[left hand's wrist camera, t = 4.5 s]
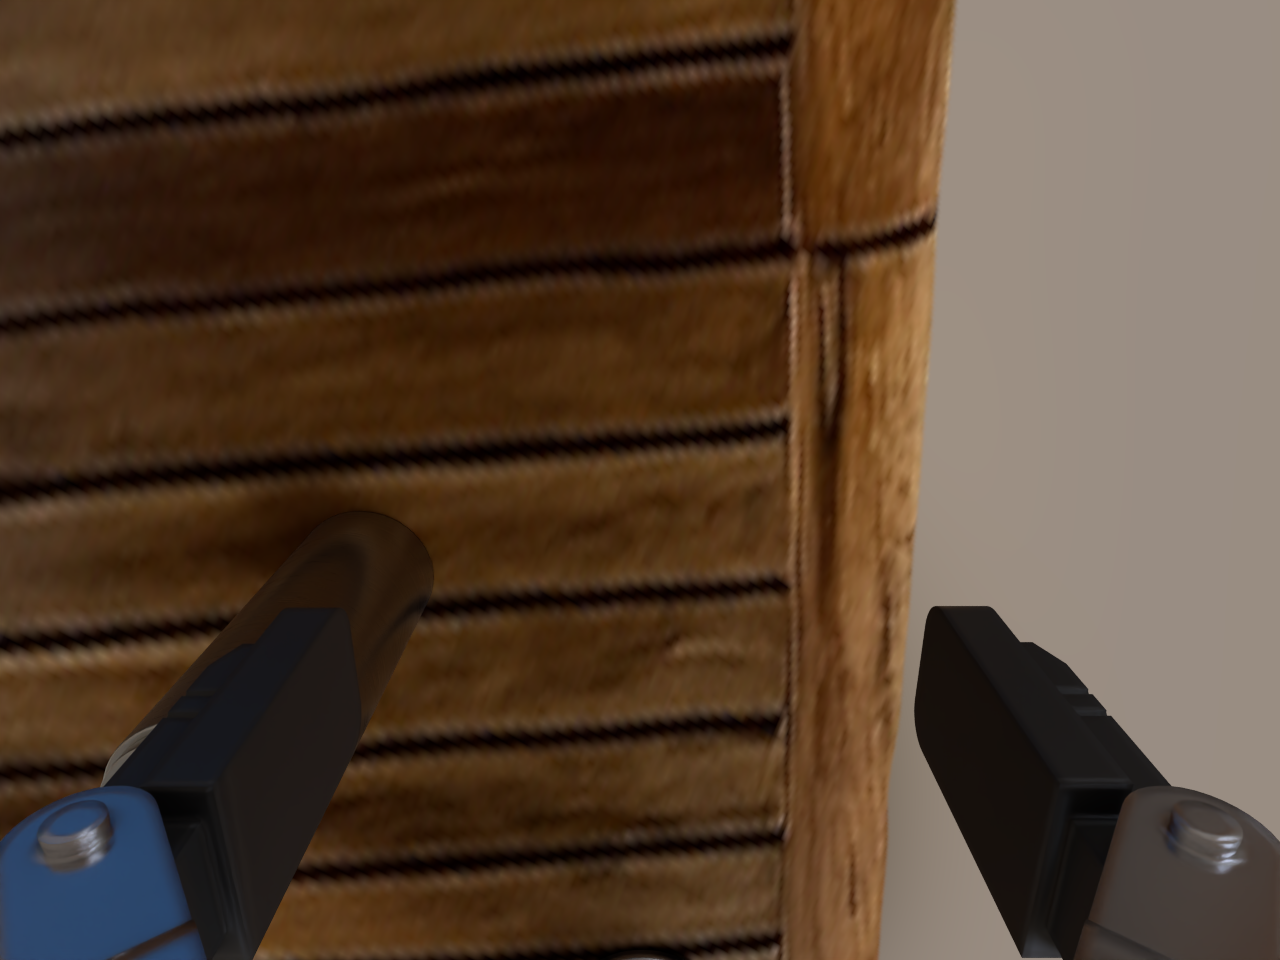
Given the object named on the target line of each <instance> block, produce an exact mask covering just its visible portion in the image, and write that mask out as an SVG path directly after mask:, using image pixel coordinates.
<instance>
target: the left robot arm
mask: <svg viewBox="0 0 1280 960" xmlns="http://www.w3.org/2000/svg"><path fill="white" fill-rule="evenodd" d="M914 716H915V727H916V733H917V738H918V741H919V745H920V747H921V750H922V752H923V754H924V756H925V758H926V760H927V762H928V764H929V767H930V769H931V771H932V773H933V775H934V777H935V779H936V781H937V783H938V785H939V787H940V789H941V791H942V793H943V796H944V798H945V800H946V802H947V804H948V806H949V808H950V810H951V812H952V814H953V816H954V818H955V820H956V822H957V824H958V826H959V829H960V831H961V833H962V835H963V837H964V839H965V841H966V843H967V845H968V847H969V849H970V851H971V853H972V855H973V858H974V860H975V862H976V864H977V866H978V868H979V870H980V872H981V874H982V876H983V878H984V880H985V882H986V884H987V886H988V889H989V891H990V893H991V895H992V897H993V899H994V901H995V903H996V905H997V907H998V909H999V911H1000V913H1001V915H1002V918H1003V920H1004V922H1005V924H1006V926H1007V928H1008V930H1009V932H1010V934H1011V936H1012V938H1013V940H1014V942H1015V944H1016V946H1017V949H1018V951H1019V953H1020V955H1021V957H1022V958H1062V959H1063V960H1280V842H1279V840H1278V839H1277V838H1276V837H1275V836H1274V835H1273V834H1272V833H1271V832H1270V831H1269V830H1268V829H1267V828H1266V827H1264V826H1263V825H1262V824H1261V823H1260V822H1258V821H1257V820H1255V819H1254V818H1253V817H1251V816H1250V815H1248V814H1247V813H1245V812H1243V811H1242V810H1240V809H1238V808H1237V807H1235V806H1233V805H1231V804H1229V803H1227V802H1225V801H1223V800H1220V799H1218V798H1215V797H1213V796H1210V795H1207V794H1204V793H1201V792H1198V791H1195V790H1190V789H1185V788H1181V787H1173V786H1171V785H1170V784H1169V783H1168V782H1167V780H1166V779H1165V778H1164V777H1163V776H1162V775H1161V773H1160V772H1159V771H1158V770H1157V769H1156V768H1155V766H1154V765H1153V764H1152V763H1151V762H1150V761H1149V759H1148V758H1147V757H1146V756H1145V755H1144V754H1143V752H1142V751H1141V750H1140V749H1139V748H1138V747H1137V745H1136V744H1135V743H1134V742H1133V741H1132V740H1131V738H1130V737H1129V736H1128V735H1127V734H1126V733H1125V731H1124V730H1123V729H1122V728H1121V727H1120V726H1119V725H1118V723H1117V722H1116V721H1115V720H1114V719H1113V718H1112V716H1107V714H1106V709H1105V708H1104V707H1103V706H1102V705H1101V704H1100V702H1099V701H1098V700H1097V699H1096V698H1095V697H1094V695H1092V694H1089V693H1088V688H1087V687H1086V686H1085V685H1084V684H1083V683H1082V682H1081V680H1080V679H1079V678H1078V677H1077V676H1076V675H1075V673H1074V672H1073V671H1072V670H1071V669H1070V667H1069V666H1068V665H1067V664H1066V663H1064V662H1063V661H1061V660H1059V659H1058V658H1056V657H1055V656H1053V655H1052V654H1050V653H1048V652H1047V651H1045V650H1044V649H1042V648H1041V647H1039V646H1037V645H1036V644H1034V643H1033V642H1020V641H1019V640H1018V639H1017V638H1016V636H1015V635H1014V634H1013V633H1012V631H1011V630H1010V629H1009V628H1008V626H1007V625H1006V624H1005V623H1004V621H1003V620H1002V619H1001V618H1000V616H999V615H998V614H997V613H996V611H995V610H994V609H993V608H991V607H988V606H935V607H932V608H931V610H930V611H929V613H928V616H927V619H926V624H925V631H924V639H923V646H922V653H921V660H920V667H919V675H918V682H917V689H916V696H915V706H914ZM360 727H361V699H360V692H359V685H358V678H357V671H356V664H355V657H354V649H353V642H352V635H351V628H350V622H349V618H348V615H347V613H346V612H345V610H344V609H343V608H285V609H283V610H282V611H281V612H280V613H279V614H278V615H277V617H276V618H275V619H274V620H273V622H272V623H271V624H270V625H269V627H268V628H267V629H266V630H265V632H264V633H263V634H262V635H261V636H260V638H259V639H258V640H257V641H256V643H255V644H242V645H240V646H238V647H237V648H235V649H234V650H232V651H230V652H229V653H227V654H226V655H224V656H223V657H221V658H219V659H218V660H216V661H215V662H213V663H212V664H210V665H208V666H207V668H206V669H205V670H204V671H203V672H202V673H201V675H200V676H199V677H198V678H197V679H196V680H195V681H194V683H193V684H192V685H191V686H190V687H189V688H188V690H187V691H186V696H181V698H180V699H179V700H178V701H177V702H176V703H175V705H174V706H173V707H172V708H171V709H170V710H169V711H168V716H167V718H162V720H161V721H160V722H159V723H158V724H157V725H156V726H155V728H154V729H153V730H152V731H151V732H150V733H149V734H148V736H147V737H146V738H145V739H144V740H143V741H142V743H141V744H140V745H139V746H138V747H137V748H136V749H135V751H134V752H133V753H132V754H131V755H130V756H129V758H128V759H127V760H126V761H125V762H124V763H123V764H122V766H121V767H120V768H119V769H118V770H117V771H116V773H115V774H114V775H113V776H112V777H111V778H110V779H109V781H108V782H107V783H106V784H105V785H104V786H103V787H99V788H94V789H90V790H85V791H82V792H79V793H76V794H73V795H70V796H67V797H65V798H62V799H60V800H57V801H55V802H53V803H51V804H49V805H47V806H45V807H43V808H42V809H40V810H38V811H37V812H35V813H33V814H32V815H30V816H29V817H27V818H26V819H25V820H23V821H22V822H20V823H19V824H18V825H17V826H16V827H14V828H13V829H12V830H11V831H10V832H9V833H8V834H7V835H6V836H5V837H4V838H3V839H2V840H1V842H0V960H253V957H254V955H255V953H256V951H257V949H258V947H259V945H260V943H261V941H262V939H263V937H264V935H265V933H266V931H267V929H268V927H269V925H270V923H271V921H272V919H273V917H274V915H275V913H276V910H277V908H278V906H279V904H280V902H281V900H282V898H283V896H284V894H285V892H286V890H287V888H288V886H289V884H290V882H291V880H292V878H293V876H294V874H295V872H296V870H297V868H298V866H299V863H300V861H301V859H302V857H303V855H304V853H305V851H306V849H307V847H308V845H309V843H310V841H311V839H312V837H313V835H314V833H315V831H316V829H317V827H318V825H319V823H320V821H321V819H322V816H323V814H324V812H325V810H326V808H327V806H328V804H329V802H330V800H331V798H332V796H333V794H334V792H335V790H336V788H337V786H338V784H339V782H340V780H341V778H342V776H343V774H344V772H345V769H346V767H347V765H348V763H349V761H350V759H351V757H352V755H353V753H354V751H355V748H356V745H357V742H358V738H359V733H360ZM600 960H684V959H682V958H680V957H677V956H675V955H672V954H669V953H665V952H660V951H654V950H631V951H624V952H619V953H615V954H612V955H609V956H607V957H604V958H602V959H600Z"/></svg>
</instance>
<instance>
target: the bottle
mask: <svg viewBox="0 0 1280 960" xmlns="http://www.w3.org/2000/svg"><path fill="white" fill-rule="evenodd" d="M433 580H434V576H433V567H432V563H431V560H430V557H429V555H428V553H427V551H426V549H425V547H424V545H423V544H422V543H421V541H420V540H419V539H418V538H417V537H416V535H415V534H414V533H413V532H411V531H410V530H409V529H408V528H407V527H405V526H404V525H402V524H401V523H399V522H397V521H396V520H394V519H392V518H389V517H387V516H384V515H381V514H377V513H371V512H357V511H356V512H347V513H343V514H339V515H336V516H333V517H331V518H329V519H327V520H325V521H324V522H322V523H321V524H320V525H318V526H317V527H316V528H315V529H314V530H313V531H312V532H311V533H310V534H309V535H308V537H307V538H306V539H305V540H304V541H303V542H302V543H301V544H300V545H299V547H298V548H297V549H296V550H295V551H294V552H293V553H292V554H291V555H290V557H289V558H288V559H287V560H286V561H285V562H284V563H283V564H282V565H281V567H280V568H279V569H278V570H277V571H276V572H275V573H274V574H273V575H272V577H271V578H270V579H269V580H268V581H267V582H266V583H265V584H264V585H263V587H262V588H261V589H260V590H259V591H258V592H257V593H256V594H255V595H254V597H253V598H252V599H251V600H250V601H249V602H248V603H247V604H246V605H245V607H244V608H243V609H242V610H241V611H240V612H239V613H238V614H237V615H236V617H235V618H234V619H233V620H232V621H231V622H230V623H229V624H228V625H227V627H226V628H225V629H224V630H223V631H222V632H221V633H220V634H219V635H218V637H217V638H216V639H215V640H214V641H213V642H212V643H211V644H210V645H209V647H208V648H207V649H206V650H205V651H204V652H203V653H202V654H201V655H200V657H199V658H198V659H197V660H196V661H195V662H194V663H193V664H192V665H191V667H190V668H189V669H188V670H187V671H186V672H185V673H184V674H183V675H182V677H181V678H180V679H179V680H178V681H177V682H176V683H175V684H174V685H173V687H172V688H171V689H170V690H169V691H168V692H167V693H166V694H165V695H164V697H163V698H162V699H161V700H160V701H159V702H158V703H157V704H156V705H155V707H154V708H153V709H152V710H151V711H150V712H149V713H148V714H147V715H146V717H145V718H144V719H143V720H142V721H141V722H140V723H139V724H138V725H137V727H136V728H135V729H134V730H133V731H132V732H131V733H130V734H129V735H128V737H127V738H126V739H125V740H124V741H123V742H122V743H121V744H120V745H119V747H118V748H117V749H116V750H115V752H114V753H113V755H112V756H111V758H110V760H109V762H108V764H107V766H106V770H105V774H104V778H103V781H102V784H101V787H103V786H104V785H105V784H106V783H107V782H108V781H109V779H110V778H111V777H112V776H113V775H114V774H115V773H116V771H117V770H118V769H119V768H120V767H121V766H122V764H123V763H124V762H125V761H126V760H127V759H128V758H129V756H130V755H131V754H132V753H133V752H134V751H135V749H136V748H137V747H138V746H139V745H140V744H141V743H142V741H143V740H144V739H145V738H146V737H147V736H148V734H149V733H150V732H151V731H152V730H153V729H154V728H155V726H156V725H157V724H158V723H159V722H160V721H161V720H162V718H167V716H168V711H169V710H170V709H171V708H172V707H173V706H174V705H175V703H176V702H177V701H178V700H179V699H180V698H181V696H186V691H187V690H188V688H189V687H190V686H191V685H192V684H193V683H194V681H195V680H196V679H197V678H198V677H199V676H200V675H201V673H202V672H203V671H204V670H205V669H206V668H207V666H208V665H210V664H212V663H213V662H215V661H216V660H218V659H219V658H221V657H223V656H224V655H226V654H227V653H229V652H230V651H232V650H234V649H235V648H237V647H238V646H240V645H242V644H255V643H256V641H257V640H258V639H259V638H260V636H261V635H262V634H263V633H264V632H265V630H266V629H267V628H268V627H269V625H270V624H271V623H272V622H273V620H274V619H275V618H276V617H277V615H278V614H279V613H280V612H281V611H282V610H283V609H285V608H343V609H344V610H345V612H346V613H347V615H348V618H349V622H350V628H351V635H352V642H353V649H354V657H355V664H356V671H357V678H358V685H359V692H360V699H361V727H360V733H359V738H358V742H357V745H358V743H359V741H360V739H361V737H362V735H363V733H364V731H365V729H366V727H367V725H368V723H369V721H370V719H371V717H372V715H373V713H374V710H375V708H376V706H377V704H378V702H379V700H380V698H381V696H382V694H383V692H384V690H385V688H386V686H387V684H388V682H389V680H390V678H391V676H392V674H393V672H394V670H395V668H396V665H397V663H398V661H399V659H400V657H401V655H402V653H403V651H404V649H405V647H406V645H407V643H408V641H409V639H410V637H411V635H412V633H413V631H414V629H415V627H416V625H417V622H418V620H419V618H420V616H421V614H422V612H423V610H424V608H425V606H426V604H427V602H428V600H429V598H430V595H431V592H432V588H433ZM357 745H356V747H357ZM355 749H356V748H355ZM351 758H352V757H351ZM350 760H351V759H350ZM349 762H350V761H349ZM348 764H349V763H348ZM347 766H348V765H347ZM346 768H347V767H346ZM345 770H346V769H345ZM329 803H330V802H329ZM328 805H329V804H328ZM327 807H328V806H327ZM326 809H327V808H326ZM325 811H326V810H325ZM324 813H325V812H324ZM323 815H324V814H323ZM322 817H323V816H322Z"/></svg>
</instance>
